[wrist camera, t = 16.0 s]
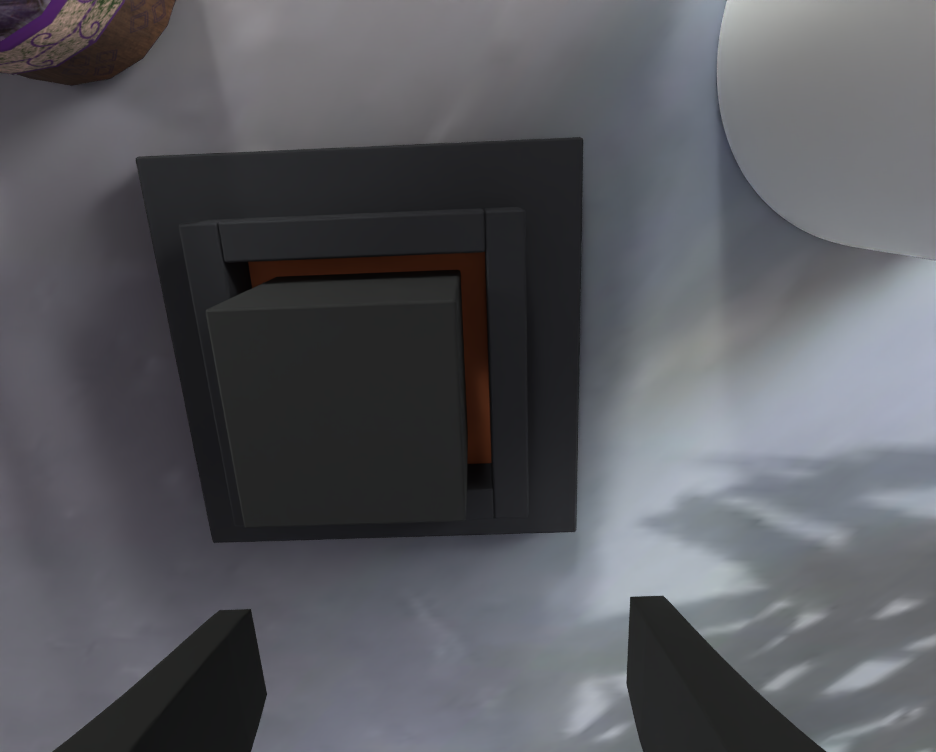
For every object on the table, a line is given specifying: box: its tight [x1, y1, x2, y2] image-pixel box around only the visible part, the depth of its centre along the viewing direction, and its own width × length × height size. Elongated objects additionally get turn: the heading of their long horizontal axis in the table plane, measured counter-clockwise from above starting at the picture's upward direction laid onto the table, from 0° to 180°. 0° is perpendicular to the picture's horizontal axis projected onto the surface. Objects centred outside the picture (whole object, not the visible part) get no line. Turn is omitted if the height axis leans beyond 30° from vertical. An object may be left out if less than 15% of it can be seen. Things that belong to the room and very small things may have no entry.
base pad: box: [136, 137, 583, 543], centre depth 17 cm, size 12×12×3 cm
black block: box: [206, 270, 468, 528], centre depth 15 cm, size 5×5×5 cm
